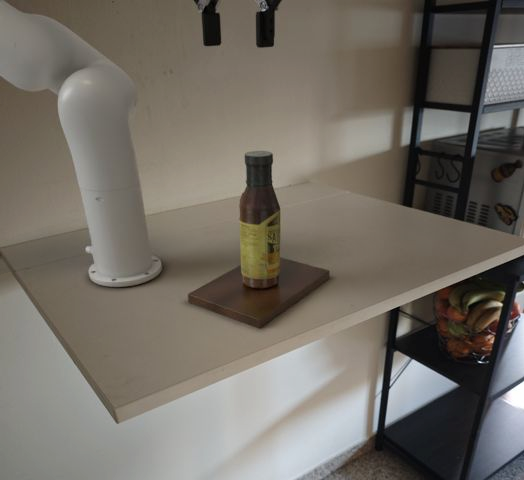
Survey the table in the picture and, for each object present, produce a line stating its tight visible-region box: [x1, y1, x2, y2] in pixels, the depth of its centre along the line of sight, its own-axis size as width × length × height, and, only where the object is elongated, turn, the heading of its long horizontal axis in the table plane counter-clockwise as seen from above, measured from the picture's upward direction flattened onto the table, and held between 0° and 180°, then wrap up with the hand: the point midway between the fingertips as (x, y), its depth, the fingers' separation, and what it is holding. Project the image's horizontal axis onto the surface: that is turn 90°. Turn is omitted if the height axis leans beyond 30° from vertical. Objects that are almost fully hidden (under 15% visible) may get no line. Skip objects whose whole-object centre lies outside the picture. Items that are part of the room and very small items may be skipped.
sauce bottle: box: [238, 150, 281, 289], centre depth 75 cm, size 7×6×20 cm
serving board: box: [187, 256, 331, 329], centre depth 81 cm, size 14×20×2 cm
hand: (238, 46), depth 70 cm, fingers open, 9 cm apart
